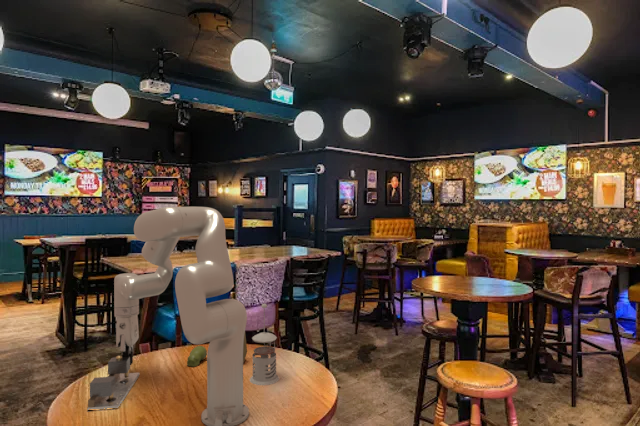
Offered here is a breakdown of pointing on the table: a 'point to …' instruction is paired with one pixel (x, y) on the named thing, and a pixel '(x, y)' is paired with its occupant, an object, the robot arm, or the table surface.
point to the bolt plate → (118, 392)
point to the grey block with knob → (119, 365)
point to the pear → (196, 356)
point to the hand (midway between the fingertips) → (127, 364)
